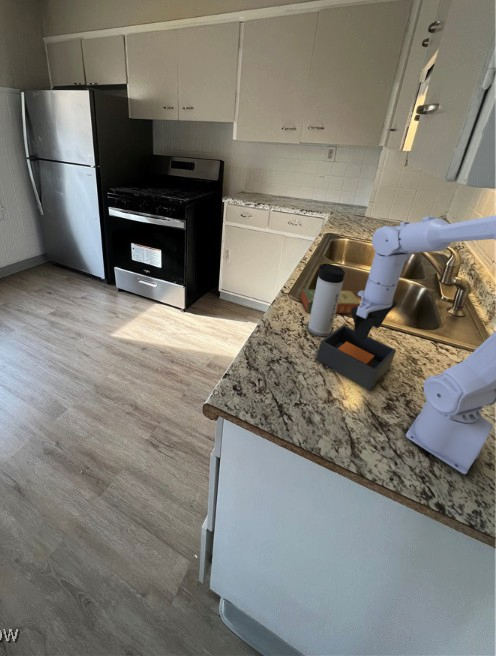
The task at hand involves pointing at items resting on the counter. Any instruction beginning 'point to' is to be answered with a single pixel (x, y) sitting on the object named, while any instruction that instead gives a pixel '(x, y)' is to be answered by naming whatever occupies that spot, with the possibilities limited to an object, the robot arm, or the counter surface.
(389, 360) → the bin
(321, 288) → the travel mug
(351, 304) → the carton
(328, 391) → the counter surface
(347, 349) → the block
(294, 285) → the counter surface
